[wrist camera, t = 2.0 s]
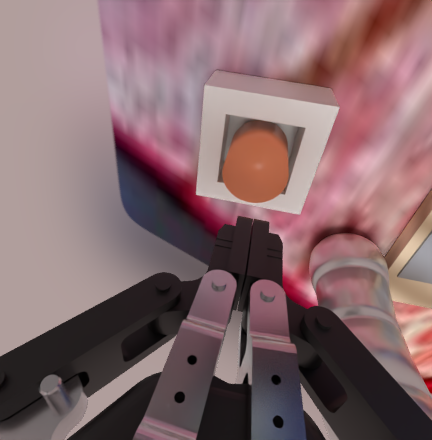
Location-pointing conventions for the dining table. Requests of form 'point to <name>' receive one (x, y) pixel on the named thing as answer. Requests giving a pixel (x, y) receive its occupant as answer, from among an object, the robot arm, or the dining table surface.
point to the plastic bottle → (365, 307)
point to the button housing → (267, 111)
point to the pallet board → (413, 260)
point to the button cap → (257, 162)
